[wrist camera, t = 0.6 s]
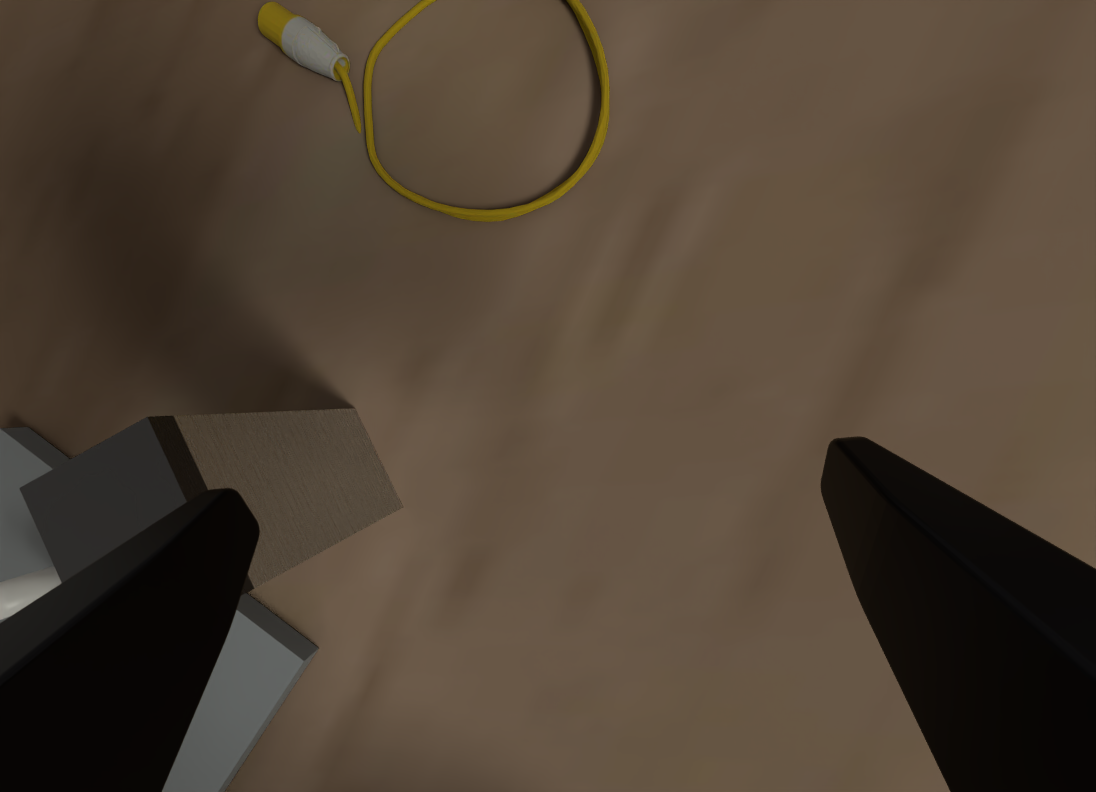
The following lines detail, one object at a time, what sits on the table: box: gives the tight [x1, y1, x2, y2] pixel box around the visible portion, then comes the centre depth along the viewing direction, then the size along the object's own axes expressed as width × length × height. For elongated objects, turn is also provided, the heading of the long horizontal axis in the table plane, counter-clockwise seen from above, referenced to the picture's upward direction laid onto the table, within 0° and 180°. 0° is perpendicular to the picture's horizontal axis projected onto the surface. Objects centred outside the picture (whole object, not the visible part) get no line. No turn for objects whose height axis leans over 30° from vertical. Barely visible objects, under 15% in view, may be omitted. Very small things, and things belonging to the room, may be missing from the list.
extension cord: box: [258, 0, 610, 222], centre depth 23 cm, size 12×16×2 cm
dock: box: [0, 427, 319, 792], centre depth 23 cm, size 18×14×5 cm
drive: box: [19, 408, 403, 596], centre depth 19 cm, size 5×4×11 cm
